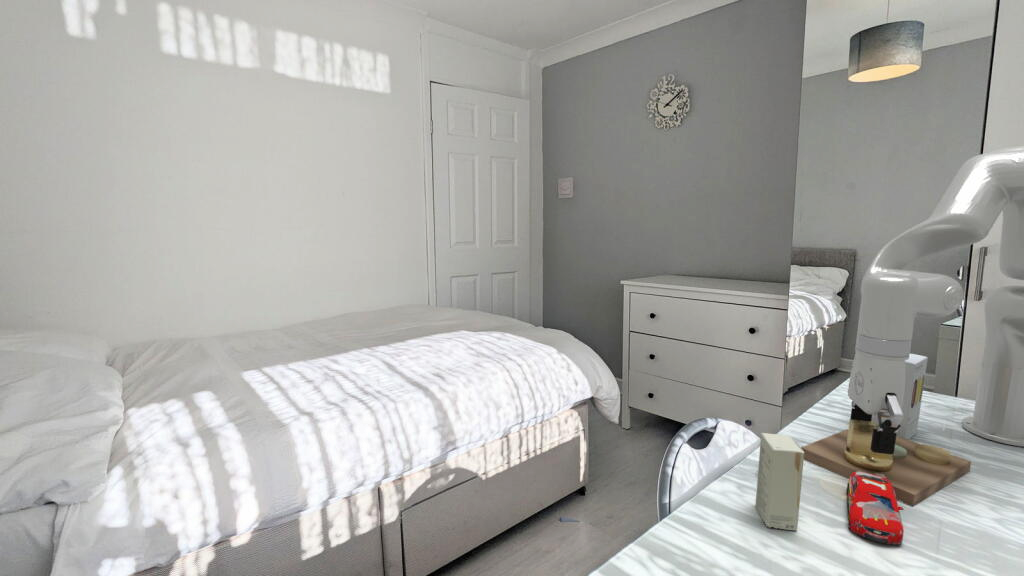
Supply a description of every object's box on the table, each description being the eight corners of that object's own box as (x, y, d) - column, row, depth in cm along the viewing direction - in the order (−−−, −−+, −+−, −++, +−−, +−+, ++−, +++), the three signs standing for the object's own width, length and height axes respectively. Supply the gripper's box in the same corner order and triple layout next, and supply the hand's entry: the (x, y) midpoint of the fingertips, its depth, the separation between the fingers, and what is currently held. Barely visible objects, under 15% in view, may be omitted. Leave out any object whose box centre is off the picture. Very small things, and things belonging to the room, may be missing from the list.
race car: (904, 556, 67) (909, 523, 67) (845, 538, 71) (849, 507, 70) (894, 499, 81) (898, 471, 80) (845, 486, 84) (849, 459, 84)
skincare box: (798, 532, 72) (806, 453, 70) (765, 528, 73) (773, 450, 71) (783, 506, 78) (791, 434, 76) (753, 503, 79) (760, 431, 77)
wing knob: (881, 454, 91) (886, 417, 90) (899, 473, 84) (905, 434, 83) (838, 449, 92) (842, 413, 91) (852, 467, 86) (857, 429, 85)
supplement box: (904, 444, 99) (916, 364, 97) (851, 429, 107) (861, 353, 104) (918, 432, 105) (929, 355, 103) (867, 417, 112) (876, 346, 110)
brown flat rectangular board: (860, 432, 105) (862, 417, 104) (969, 471, 89) (972, 453, 89) (799, 457, 94) (801, 440, 93) (912, 506, 78) (915, 486, 78)
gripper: (839, 332, 94) (829, 418, 97) (879, 358, 78) (866, 461, 80) (884, 335, 92) (873, 423, 95) (936, 362, 76) (920, 468, 78)
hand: (870, 440), depth 88 cm, fingers open, 8 cm apart
